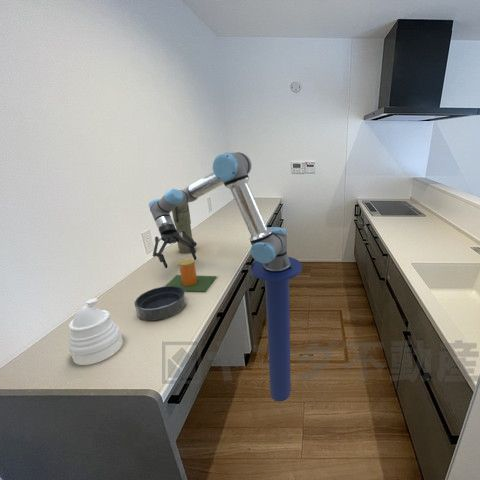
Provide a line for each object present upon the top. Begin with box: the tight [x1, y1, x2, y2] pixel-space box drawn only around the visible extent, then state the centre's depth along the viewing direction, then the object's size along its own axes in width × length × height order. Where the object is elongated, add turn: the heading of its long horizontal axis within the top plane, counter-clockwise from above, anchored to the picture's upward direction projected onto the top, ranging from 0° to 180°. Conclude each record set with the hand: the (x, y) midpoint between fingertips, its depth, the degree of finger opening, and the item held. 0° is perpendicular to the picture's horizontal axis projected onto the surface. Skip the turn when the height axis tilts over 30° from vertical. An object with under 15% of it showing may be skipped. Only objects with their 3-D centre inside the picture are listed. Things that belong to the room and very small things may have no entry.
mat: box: [165, 274, 217, 293], centre depth 126 cm, size 20×14×1 cm
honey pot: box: [67, 297, 124, 366], centre depth 83 cm, size 13×13×18 cm
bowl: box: [134, 285, 187, 321], centre depth 107 cm, size 17×17×6 cm
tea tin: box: [177, 258, 198, 286], centre depth 124 cm, size 7×7×11 cm
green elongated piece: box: [171, 203, 195, 255], centre depth 157 cm, size 9×12×35 cm
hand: (181, 263), depth 130 cm, fingers open, 13 cm apart
